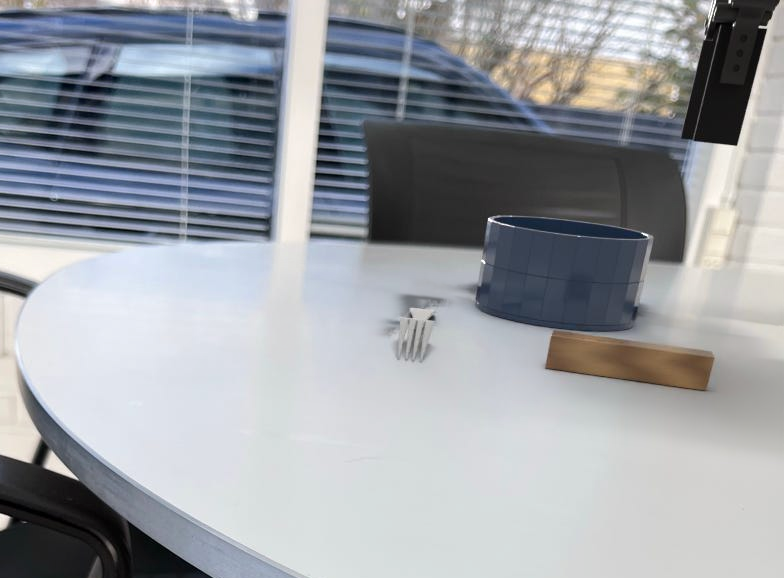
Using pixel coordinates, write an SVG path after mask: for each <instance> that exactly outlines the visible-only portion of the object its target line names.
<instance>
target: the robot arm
mask: <svg viewBox="0 0 784 578" xmlns="http://www.w3.org/2000/svg"><path fill="white" fill-rule="evenodd" d="M780 2H781V0H712V1H711V4H710V8H709V10H708V11H709V12H708V15H707V18H705V20H704V24H703V26H704V31H703V35H704V39H703V40H702V43H701V48H700V52H699V55H698V60H697V65H696V68H695V73H694V76H693V80H692V86H691V89H690V90H691V91H690V94H689V99H688V104H687V107H686V111H685V116H684V120H683V123H682V128H681V132H680V137H679V139H680V140H689V141H692V142H695V143H696V142H698V143H706V144H714V145H715V144H717V145H723V146H733V147H738V144H739V141H740V136H741V134H742V133H741V132H742V130H743V129H742V128H743V125H744V122H745V121H744V120H745V117H746V114H747V109H748V106H749V101H750V98H751V93H752V90H753V86H754V82H755V78H756V74H757V72H758V71H757V70H758V66H759V63H760V60H761V55H762V51H763V47H764V44H765V39H766V36H767V32H768V28H764V27H767V26H768V24H769V22H770V21H771V20H772V18H773V14H774V12H775V10H776V8H777V7H778V5H779V4H780Z"/></svg>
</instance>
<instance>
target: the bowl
mask: <svg viewBox="0 0 784 578" xmlns="http://www.w3.org/2000/svg"><path fill="white" fill-rule="evenodd" d="M654 239H655V238H654V236H653V235H652V234H649V233H646V232H643V231H640V230H636V229H630V228H625V227H620V226H615V225H609V224H602V223H595V222H587V221H580V220H572V219H563V218H551V217H542V216H541V217H540V216H528V215H527V216H525V215H495V216H490V217H488V218H487V224H486V229H485V237H484V243H483V248H482V249H483V250H482V254H481V255H482V256H481V261H480V268H479V274H478V281H477V288H476V293H475V302H474V303H475V304H474V305H475V308H477V309H478V310H480V311H481V312H484V313H486V314H488V315H491V316H494V317H498V318H501V319H505V320H508V321H513V322H517V323H522V324H526V325H527V324H528V325H533V326H540V327H546V328H552V329H554V328H555V329H562V330H563V329H564V330H572V331H584V330H586V331H588V332H614V331H616V330H617V331H625V330H628V329H631V328H632V327H634V325H635V322H636V320H637V315H638V310H639V307H640V301H641V298H642V297H641V296H642V293H643V288H644V284H645V280H646V274H647V270H648V265H649V262H650V257H651V253H652V248H653V244H654Z"/></svg>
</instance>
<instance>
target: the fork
mask: <svg viewBox="0 0 784 578" xmlns="http://www.w3.org/2000/svg"><path fill="white" fill-rule="evenodd" d="M409 311H410V314H411V317H404V316H400V317H399V329H398V331H399V332H398V341H397V342H398V343H397V344H398V345H397V360H400V359H401V355H402V350H403V345H404V341H405V337H406V332H407V338H406V347H405V361H408V358H409V354H410V352H411V351H410V350H411V346H412V343H413V349H412V358H411V359H412V362H414V361H415V358H416V355H417V352H418V348H419V346H420V340H421V336H422V342H421V350H420V358H419V362H420V363H422V362H423V359H424V356H425V353H426V349H427V347H428V343H429V340H430V337H431V334H432V330H433V327H434V324H435V323H436V321H435V320H430V318H431V317H432V316H434V315H435V314H436V313H437V310H435V309H426V308H418V307H409ZM407 328H408V329H407ZM414 333H415V335H414ZM422 333H423V335H422ZM413 338H414V341H413Z"/></svg>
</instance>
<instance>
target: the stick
mask: <svg viewBox="0 0 784 578" xmlns="http://www.w3.org/2000/svg"><path fill="white" fill-rule="evenodd" d="M546 356H547V357H546V361H545V366H544V368H545V369H549V370H556V371H564V372H570V373H578V374H583V375H584V374H585V375H591V376H598V377H599V376H600V377H606V378H611V379H612V378H613V379H621V380H627V381H634V382H641V383H647V384H656V385H662V386H670V387H677V388H684V389H691V390H698V391H707V389H708V386H709V381H710V378H711V375H712V370H713V367H714V362H715V358H716V357H715V355H714V353H713V351H712V350H705V349H696V348H690V347H683V346H674V345H667V344H660V343H652V342H645V341H638V340H629V339H623V338H615V337H609V336H608V337H607V336H600V335H595V334H584V333H579V332H570V331H564V330H558V329H557V330H555V329H553V330H552V331H551V335H550V340H549V345H548V350H547V355H546Z"/></svg>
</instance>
